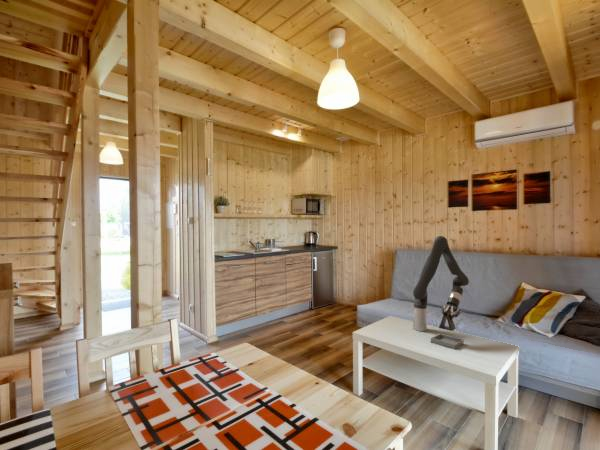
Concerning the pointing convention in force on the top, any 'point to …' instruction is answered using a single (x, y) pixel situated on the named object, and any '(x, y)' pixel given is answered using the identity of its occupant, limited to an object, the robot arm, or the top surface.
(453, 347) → the tray
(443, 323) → the phone stand
